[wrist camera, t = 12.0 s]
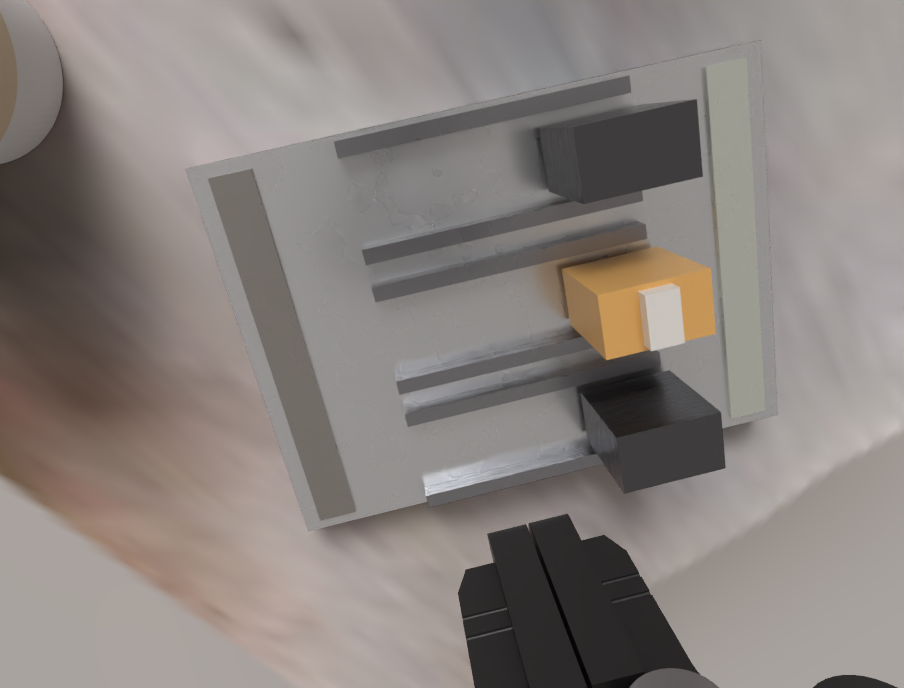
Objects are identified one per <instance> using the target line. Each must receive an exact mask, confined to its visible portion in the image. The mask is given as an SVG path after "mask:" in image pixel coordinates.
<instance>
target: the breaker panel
mask: <svg viewBox="0 0 904 688" xmlns="http://www.w3.org/2000/svg"><path fill="white" fill-rule="evenodd" d="M186 172H187V175H188V178H189V181H190V184H191V187H192V190H193V192H194V195H195V198H196V201H197V204H198V207H199V210H200V213H201V216H202V219H203V222H204V225H205V228H206V231H207V234H208V237H209V240H210V243H211V246H212V249H213V252H214V255H215V257H216V260H217V263H218V266H219V269H220V272H221V275H222V278H223V281H224V284H225V287H226V290H227V293H228V296H229V299H230V302H231V305H232V308H233V311H234V314H235V317H236V319H237V322H238V325H239V328H240V331H241V334H242V337H243V340H244V343H245V346H246V349H247V352H248V355H249V358H250V361H251V364H252V367H253V370H254V373H255V376H256V379H257V382H258V384H259V387H260V390H261V393H262V396H263V399H264V402H265V405H266V408H267V411H268V414H269V417H270V420H271V423H272V426H273V429H274V432H275V435H276V438H277V441H278V444H279V446H280V449H281V452H282V455H283V458H284V461H285V464H286V467H287V470H288V473H289V476H290V479H291V482H292V485H293V488H294V491H295V494H296V497H297V500H298V503H299V506H300V509H301V511H302V514H303V517H304V520H305V523H306V526H307V529H308V531H312V530H316V529H320V528H324V527H328V526H332V525H336V524H340V523H344V522H348V521H352V520H356V519H360V518H364V517H368V516H372V515H376V514H380V513H384V512H388V511H392V510H396V509H400V508H404V507H408V506H412V505H416V504H420V503H424V502H427V503H428V507H433V506H437V505H441V504H445V503H449V502H453V501H457V500H461V499H465V498H469V497H473V496H477V495H481V494H486V493H490V492H494V491H498V490H502V489H506V488H510V487H514V486H518V485H522V484H526V483H530V482H534V481H538V480H542V479H546V478H550V477H554V476H558V475H562V474H566V473H570V472H574V471H578V470H582V469H586V468H590V467H594V466H598V465H602V464H604V465H605V466H606V468H607V469H608V471H609V472H610V474H611V475H612V476H613V478H614V479H615V481H616V482H617V484H618V485H619V487H620V488H621V489H622V491H623V492H624V493H628V492H632V491H636V490H640V489H644V488H648V487H652V486H656V485H660V484H664V483H668V482H672V481H676V480H680V479H684V478H688V477H692V476H696V475H700V474H704V473H708V472H712V471H716V470H720V469H724V468H725V456H724V443H723V430H722V428H726V427H730V426H734V425H738V424H742V423H747V422H751V421H755V420H759V419H763V418H767V417H771V416H775V415H778V412H777V390H776V368H775V345H774V323H773V301H772V278H771V256H770V234H769V212H768V189H767V167H766V145H765V122H764V100H763V78H762V55H761V40H759V41H755V42H750V43H746V44H741V45H737V46H732V47H728V48H724V49H719V50H715V51H710V52H706V53H701V54H697V55H692V56H688V57H683V58H679V59H674V60H670V61H665V62H661V63H656V64H652V65H647V66H643V67H638V68H634V69H630V70H625V71H621V72H616V73H612V74H607V75H603V76H598V77H594V78H589V79H585V80H580V81H576V82H571V83H567V84H562V85H558V86H553V87H549V88H544V89H540V90H536V91H531V92H527V93H522V94H518V95H513V96H509V97H504V98H500V99H495V100H491V101H486V102H482V103H477V104H473V105H468V106H464V107H459V108H455V109H451V110H446V111H442V112H437V113H433V114H428V115H424V116H419V117H415V118H410V119H406V120H401V121H397V122H392V123H388V124H383V125H379V126H374V127H370V128H365V129H361V130H357V131H352V132H348V133H343V134H339V135H334V136H330V137H325V138H321V139H316V140H312V141H307V142H303V143H298V144H294V145H289V146H285V147H280V148H276V149H272V150H267V151H263V152H258V153H254V154H249V155H245V156H240V157H236V158H231V159H227V160H222V161H218V162H213V163H209V164H204V165H200V166H195V167H191V168H186ZM657 246H658V247H660V248H663V249H665V250H667V251H670V252H672V253H675V254H677V255H680V256H682V257H684V258H687V259H689V260H692V261H694V262H697V263H699V264H702V265H704V266H706V267H709V268H711V277H712V290H713V303H714V316H715V329H716V334H713V335H709V336H705V337H701V338H697V339H692V340H688V341H685V343H683V344H679V345H675V346H671V347H667V348H663V349H659V350H655V351H650V350H647V351H643V352H639V353H635V354H630V355H626V356H622V357H618V358H614V359H610V360H606V359H605V358H604V357H603V356H602V355H601V354H600V353H599V352H598V351H597V350H596V349H595V348H594V347H593V346H592V345H591V344H590V343H589V342H588V341H587V340H586V339H585V338H583V337H582V336H581V335H580V334H579V333H578V332H577V331H576V330H575V329H574V328H573V327H572V326H571V325H570V319H569V312H568V306H567V300H566V293H565V287H564V280H563V274H562V269H563V268H567V267H572V266H576V265H580V264H584V263H589V262H593V261H597V260H601V259H606V258H610V257H614V256H618V255H623V254H627V253H631V252H635V251H640V250H644V249H648V248H652V247H657Z"/></svg>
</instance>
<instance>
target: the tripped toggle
mask: <svg viewBox="0 0 904 688" xmlns="http://www.w3.org/2000/svg"><path fill="white" fill-rule="evenodd" d="M562 274H563V280H564V287H565V293H566V300H567V306H568V312H569V319H570V325H571V326H572V327H573V328H574V329H575V330H576V331H577V332H578V333H579V334H580V335H581V336H582V337H583V338H585V339H586V340H587V341H588V342H589V343H590V344H591V345H592V346H593V347H594V348H595V349H596V350H597V351H598V352H599V353H600V354H601V355H602V356H603V357H604V358H605V359H606V360H610V359H614V358H618V357H622V356H626V355H630V354H635V353H639V352H643V351H647V350H650V351H655V350H659V349H663V348H667V347H671V346H675V345H679V344H683V343H685V341H688V340H692V339H697V338H701V337H705V336H709V335H713V334H716V329H715V316H714V303H713V290H712V277H711V268H709V267H706V266H704V265H702V264H699V263H697V262H694V261H692V260H689V259H687V258H684V257H682V256H680V255H677V254H675V253H672V252H670V251H667V250H665V249H663V248H660V247H658V246H657V247H652V248H648V249H644V250H640V251H635V252H631V253H627V254H623V255H618V256H614V257H610V258H606V259H601V260H597V261H593V262H589V263H584V264H580V265H576V266H572V267H567V268H563V269H562Z"/></svg>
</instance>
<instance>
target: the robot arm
mask: <svg viewBox="0 0 904 688" xmlns="http://www.w3.org/2000/svg"><path fill="white" fill-rule="evenodd" d="M529 532H530V533H529ZM487 535H488V540H489V544H490V549H491V553H492V557H493V562H494V563H491V564H487V565H483V566H479V567H475V568H471V569H467V570H466V571H465V574H464V577H463V580H462V583H461V586H460V589H459V592H458V596H459V601H460V607H461V613H462V618H463V624H464V630H465V635H466V640H467V646H468V652H469V658H470V663H471V669H472V675H473V680H474V686H475V688H719V687H718V686H717V685H715V684H714V683H713V682H712V681H710V680H708V679H707V678H705V677H703V676H701V675H700V674H699V673H698V672H697V670H696V669H695V667H694V666H693V665H692V663H691V661H690V660H689V658H688V656H687V654H686V653H685V651H684V649H683V648H682V646H681V644H680V642H679V641H678V639H677V637H676V635H675V634H674V632H673V630H672V629H671V627H670V625H669V624H668V622H667V620H666V618H665V617H664V615H663V613H662V611H661V610H660V608H659V606H658V605H657V603H656V601H655V599H654V598H653V596H652V595H651V594H650V592H649V589H648V587H647V586H646V584H645V582H644V580H643V579H642V577H640V575H639V572H638V570H637V568H636V567H635V565H634V563H633V562H632V560H631V558H630V556H629V555H628V553H627V551H626V550H625V549H623V548H622V547H620V546H619V545H618V544H616V543H615V542H613V541H612V540H610V539H609V538H608V537H606V536H605V535H602V536H598V537H594V538H590V539H586V540H582V541H581V539H580V537H579V535H578V533H577V531H576V529H575V527H574V525H573V523H572V521H571V519H570V517H569V515H568V514H565V515H561V516H557V517H553V518H549V519H544V520H540V521H536V522H532V523H529V530H528V528H527V526H526V524H525V525H521V526H517V527H513V528H509V529H505V530H501V531H497V532H493V533H489V534H487ZM813 688H897V687H895V686H892V685H890V684H888V683H885V682H882V681H879V680H877V679H873V678H869V677H865V676H856V675H841V676H835V677H831V678H828V679H825V680H823V681H821V682H820V683H818V684H817V685H816V686H814V687H813Z"/></svg>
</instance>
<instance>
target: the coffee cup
mask: <svg viewBox="0 0 904 688" xmlns="http://www.w3.org/2000/svg"><path fill="white" fill-rule="evenodd" d="M62 94H63V75H62V67H61V63H60V58H59V55H58V51H57V49H56V46H55V43H54V41H53V39H52V37H51V35H50V33H49V31H48V29H47V27H46V26H45V24H44V22H43V21H42V19H41V18H40V17H39V15H38V14H37V12H36V11H35V10H34V9H33V8H32V7H31V5H30V4H29V3H28V2H27V1H26V0H0V164H3V163H7V162H10V161H13V160H15V159H18V158H20V157H22V156H24V155H25V154H27V153H29V152H30V151H31V150H33V149H34V148H35V147H36V146H37V145H39V144H40V143H41V142H42V140H43V139H44V138H45V137H46V136H47V134H48V133H49V132H50V130H51V128H52V127H53V125H54V123H55V121H56V118H57V116H58V113H59V110H60V106H61V102H62Z"/></svg>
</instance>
